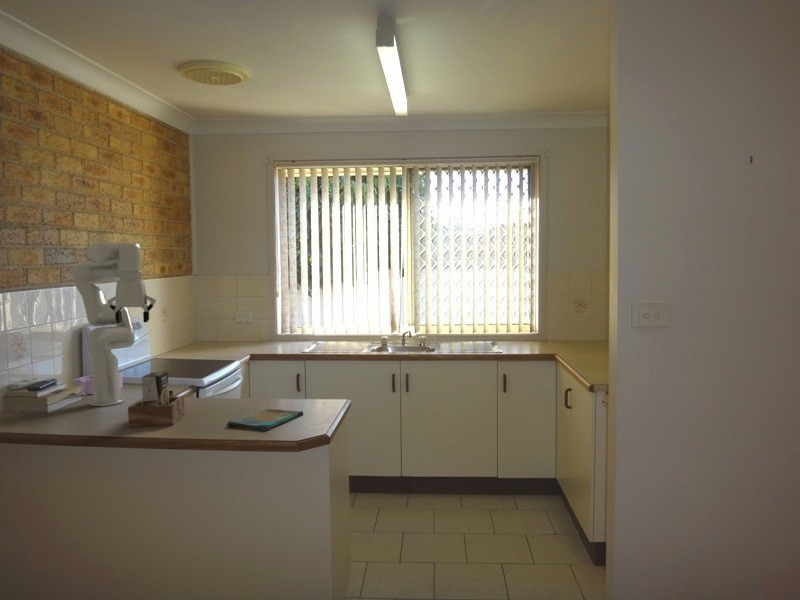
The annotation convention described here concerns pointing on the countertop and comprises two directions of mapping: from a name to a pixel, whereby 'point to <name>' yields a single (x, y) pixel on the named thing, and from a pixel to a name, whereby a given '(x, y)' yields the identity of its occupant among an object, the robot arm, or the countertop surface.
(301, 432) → the countertop surface
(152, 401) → the coffee box
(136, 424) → the open wooden box
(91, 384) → the pink plastic container
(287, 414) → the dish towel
